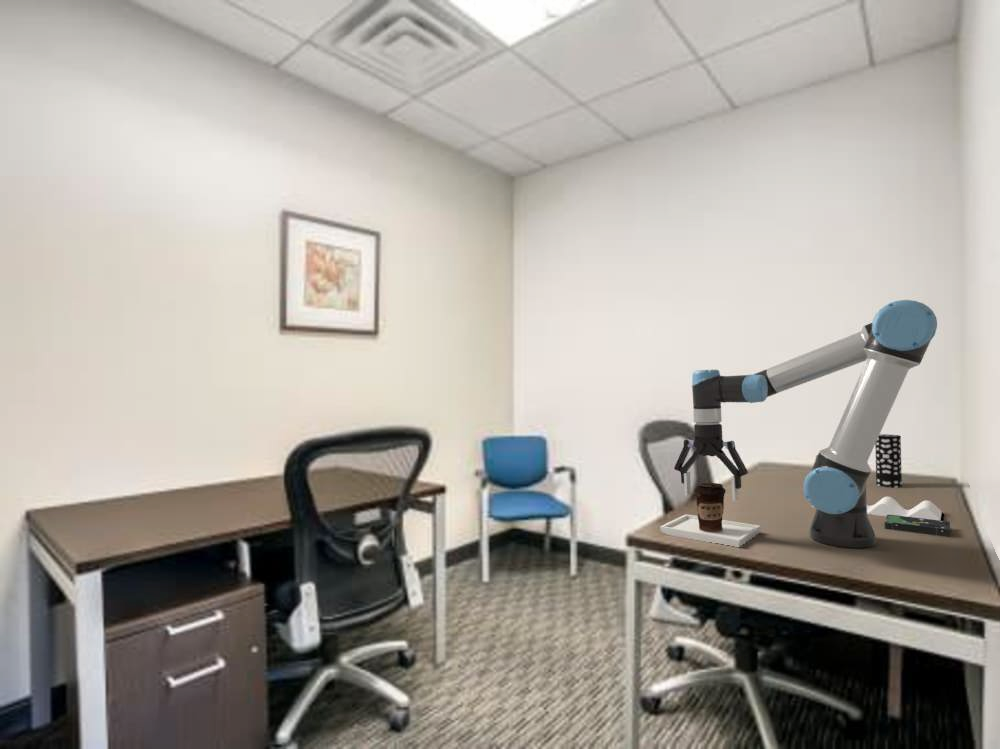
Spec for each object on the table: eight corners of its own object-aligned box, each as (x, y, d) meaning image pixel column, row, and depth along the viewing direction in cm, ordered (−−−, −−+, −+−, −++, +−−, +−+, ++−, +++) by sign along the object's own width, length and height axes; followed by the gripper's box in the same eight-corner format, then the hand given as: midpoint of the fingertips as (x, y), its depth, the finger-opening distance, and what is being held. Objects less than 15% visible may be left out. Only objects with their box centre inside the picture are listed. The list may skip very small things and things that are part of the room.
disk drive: (949, 531, 158) (886, 522, 167) (949, 521, 158) (886, 513, 167) (950, 539, 149) (884, 530, 159) (950, 529, 149) (884, 520, 159)
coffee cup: (729, 534, 152) (728, 487, 152) (697, 533, 154) (696, 487, 154) (723, 526, 161) (722, 481, 161) (693, 525, 162) (692, 481, 163)
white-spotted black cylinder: (907, 487, 215) (905, 436, 215) (885, 487, 215) (884, 436, 215) (892, 483, 223) (890, 434, 223) (871, 483, 223) (870, 434, 223)
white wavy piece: (945, 525, 163) (944, 508, 163) (812, 509, 186) (811, 494, 186) (946, 516, 173) (945, 500, 173) (819, 502, 196) (819, 487, 196)
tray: (760, 532, 157) (760, 525, 157) (739, 548, 144) (739, 540, 144) (685, 520, 172) (685, 514, 172) (660, 533, 158) (659, 526, 158)
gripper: (757, 423, 152) (761, 499, 152) (671, 421, 169) (674, 490, 168) (748, 425, 147) (752, 504, 146) (661, 423, 163) (664, 495, 163)
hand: (710, 497), depth 157 cm, fingers open, 13 cm apart
